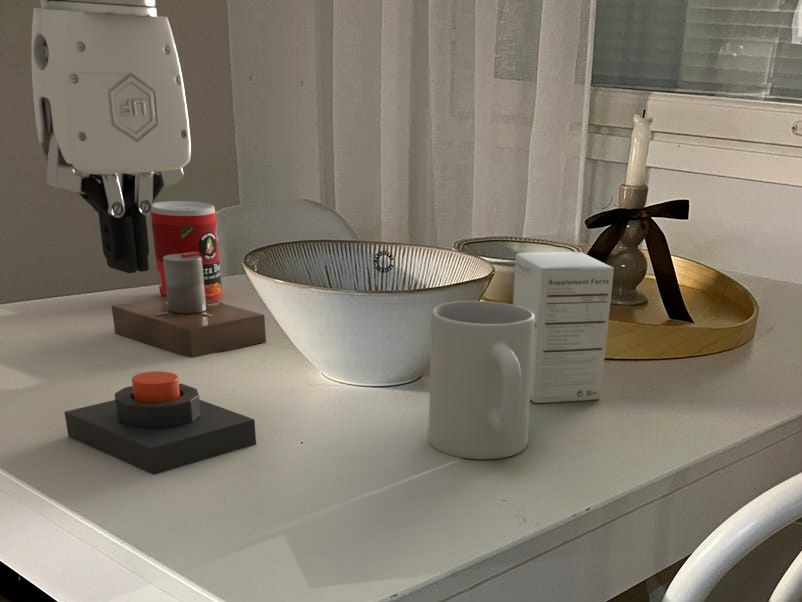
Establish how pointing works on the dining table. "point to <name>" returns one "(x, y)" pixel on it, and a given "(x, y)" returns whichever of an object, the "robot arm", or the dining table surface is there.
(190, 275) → the dial
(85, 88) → the robot arm
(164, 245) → the canned food
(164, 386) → the button
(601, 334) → the white packaging box
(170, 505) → the dining table surface
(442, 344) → the mug
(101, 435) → the button base
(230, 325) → the dial panel
